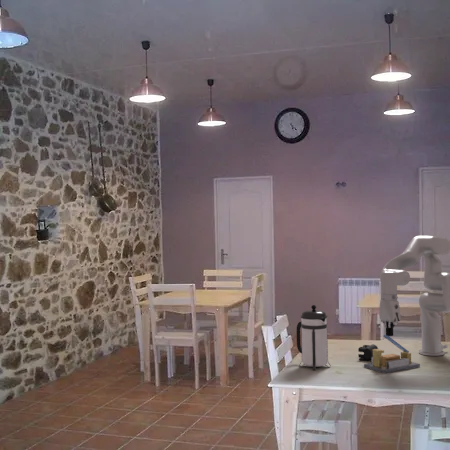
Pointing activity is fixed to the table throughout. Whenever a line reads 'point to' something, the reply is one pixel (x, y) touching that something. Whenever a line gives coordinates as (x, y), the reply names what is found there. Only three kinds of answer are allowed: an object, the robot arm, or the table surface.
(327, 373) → the table surface
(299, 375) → the table surface
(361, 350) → the end cap
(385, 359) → the block
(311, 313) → the coffee press
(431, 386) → the table surface
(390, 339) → the strap
